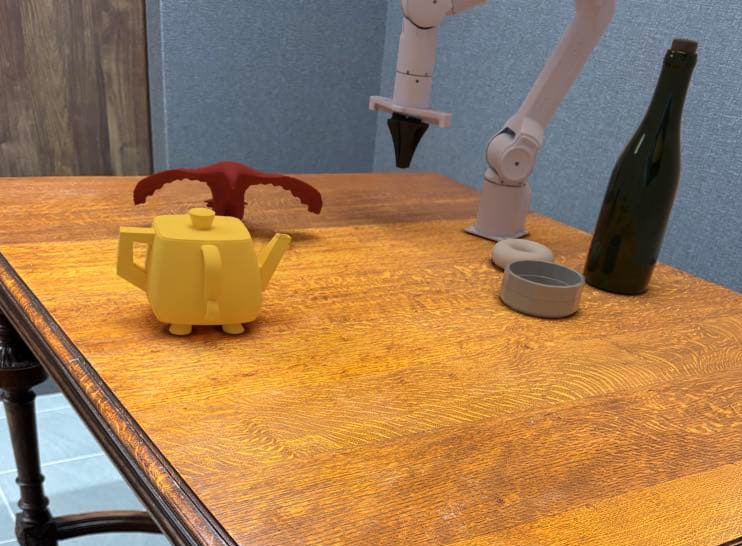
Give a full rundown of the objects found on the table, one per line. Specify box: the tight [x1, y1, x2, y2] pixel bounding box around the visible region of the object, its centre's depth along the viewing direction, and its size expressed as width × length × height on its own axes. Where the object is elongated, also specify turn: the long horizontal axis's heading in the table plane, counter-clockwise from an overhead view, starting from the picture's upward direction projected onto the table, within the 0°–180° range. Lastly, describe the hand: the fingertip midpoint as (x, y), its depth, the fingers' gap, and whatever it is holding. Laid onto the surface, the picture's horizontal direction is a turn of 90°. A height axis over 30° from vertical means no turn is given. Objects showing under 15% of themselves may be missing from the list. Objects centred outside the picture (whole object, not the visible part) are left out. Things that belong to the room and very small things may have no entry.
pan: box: [498, 259, 586, 319], centre depth 114 cm, size 11×11×4 cm
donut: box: [490, 238, 556, 270], centre depth 127 cm, size 10×4×10 cm
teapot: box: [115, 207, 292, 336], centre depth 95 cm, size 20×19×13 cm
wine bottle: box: [581, 37, 699, 295], centre depth 117 cm, size 10×10×33 cm
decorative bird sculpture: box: [132, 160, 324, 221], centre depth 124 cm, size 28×9×15 cm
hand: (402, 167), depth 133 cm, fingers closed
